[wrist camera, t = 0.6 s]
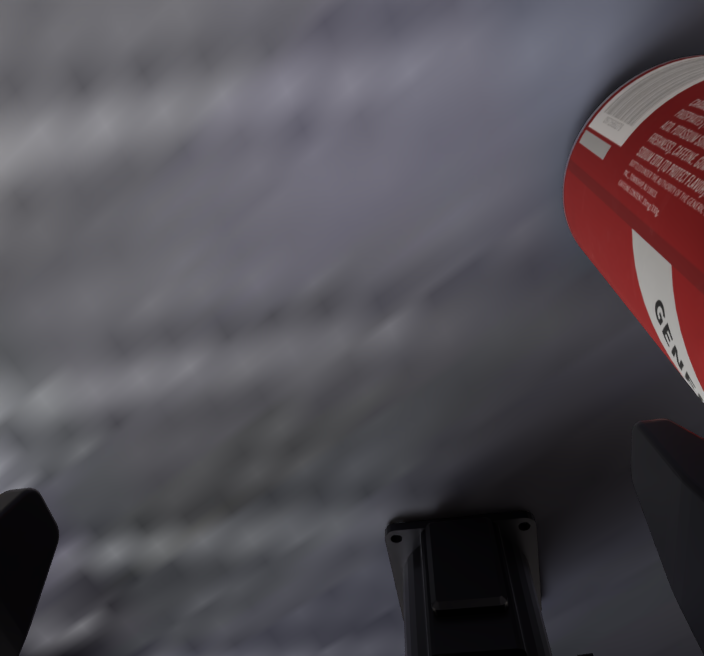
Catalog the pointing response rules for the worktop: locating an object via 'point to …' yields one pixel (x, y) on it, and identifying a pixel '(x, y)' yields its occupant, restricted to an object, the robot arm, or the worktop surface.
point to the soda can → (648, 204)
